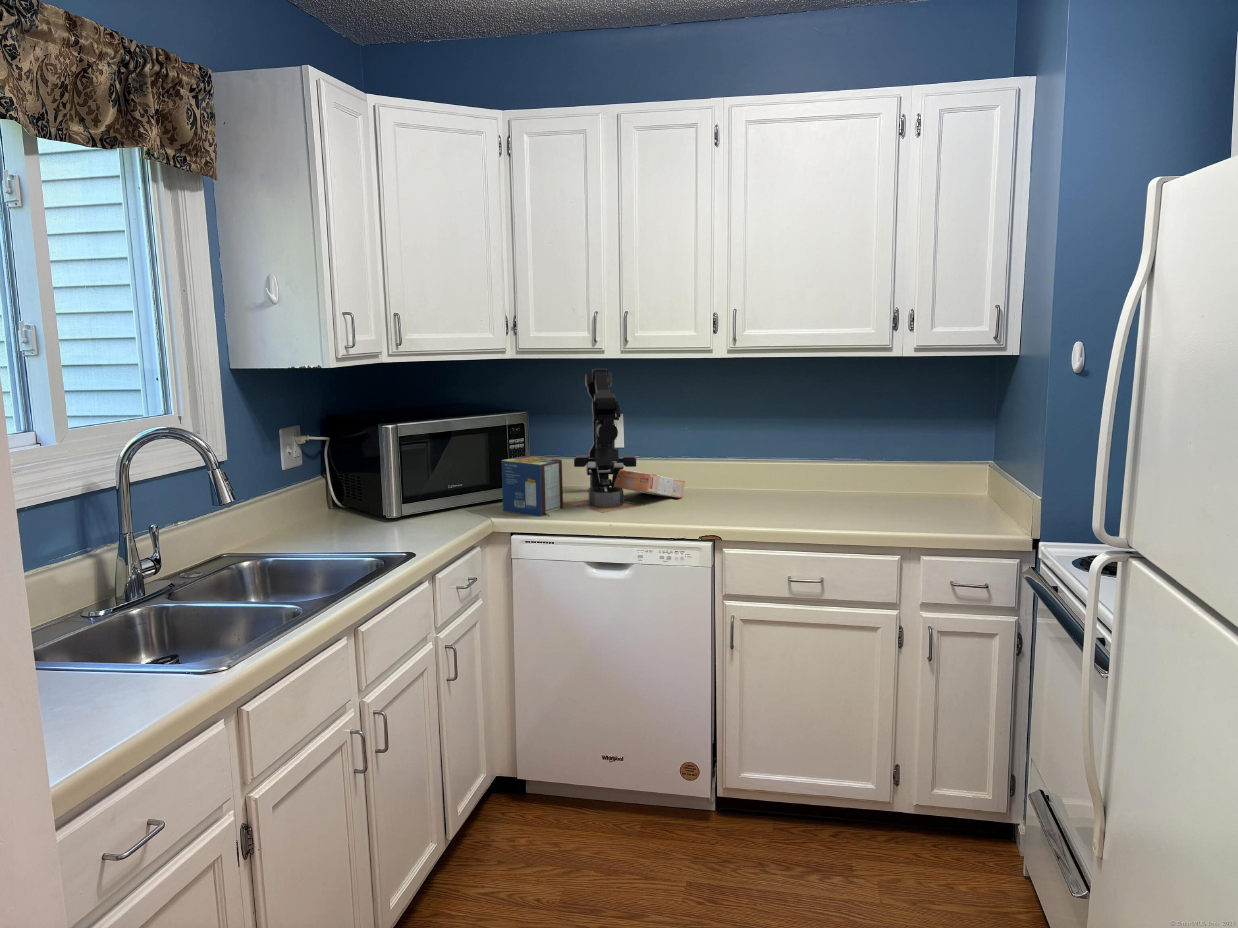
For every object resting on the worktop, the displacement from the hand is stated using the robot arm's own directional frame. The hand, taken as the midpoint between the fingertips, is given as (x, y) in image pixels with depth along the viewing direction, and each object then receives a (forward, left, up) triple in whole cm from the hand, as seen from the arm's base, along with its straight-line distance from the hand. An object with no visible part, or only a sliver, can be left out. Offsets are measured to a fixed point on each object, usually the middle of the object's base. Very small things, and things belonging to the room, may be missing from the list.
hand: (605, 489), depth 262 cm
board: (-2, 0, -6) cm, 6 cm away
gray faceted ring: (-1, 0, -5) cm, 5 cm away
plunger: (0, 0, -4) cm, 4 cm away
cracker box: (-2, +26, -3) cm, 27 cm away
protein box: (-10, -20, -6) cm, 23 cm away
